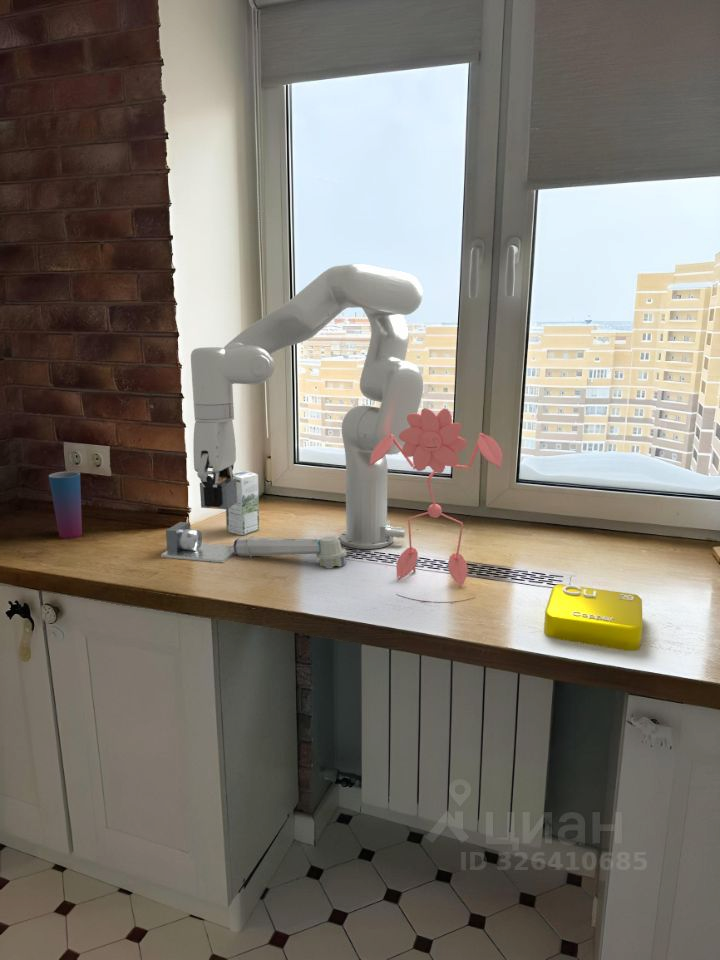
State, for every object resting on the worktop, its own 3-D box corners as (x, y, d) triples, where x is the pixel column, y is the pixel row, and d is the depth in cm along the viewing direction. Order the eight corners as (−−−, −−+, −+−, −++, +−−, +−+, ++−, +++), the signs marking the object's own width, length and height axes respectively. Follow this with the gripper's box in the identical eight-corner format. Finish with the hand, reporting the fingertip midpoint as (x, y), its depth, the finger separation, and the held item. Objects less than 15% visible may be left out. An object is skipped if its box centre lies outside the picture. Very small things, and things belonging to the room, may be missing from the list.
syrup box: (243, 526, 170) (240, 469, 166) (260, 530, 166) (258, 473, 163) (226, 532, 165) (223, 474, 162) (243, 536, 162) (241, 477, 158)
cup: (91, 533, 164) (86, 473, 160) (66, 541, 158) (60, 479, 154) (74, 529, 167) (68, 470, 164) (49, 536, 162) (42, 475, 158)
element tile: (542, 639, 111) (543, 612, 110) (552, 604, 125) (553, 579, 124) (640, 655, 106) (643, 627, 105) (639, 617, 119) (642, 591, 118)
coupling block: (237, 502, 137) (236, 477, 136) (226, 509, 132) (225, 483, 131) (212, 500, 139) (211, 476, 137) (201, 507, 134) (199, 482, 132)
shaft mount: (240, 549, 153) (239, 524, 151) (223, 562, 144) (222, 536, 143) (181, 544, 156) (179, 520, 155) (161, 557, 148) (159, 531, 146)
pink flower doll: (376, 565, 143) (377, 400, 134) (499, 581, 134) (509, 406, 126) (351, 593, 129) (350, 411, 120) (487, 613, 121) (496, 419, 112)
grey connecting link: (241, 534, 152) (346, 529, 144) (246, 562, 153) (350, 559, 145) (230, 541, 147) (338, 537, 139) (235, 570, 148) (342, 568, 140)
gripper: (215, 406, 140) (220, 490, 144) (174, 418, 124) (181, 513, 128) (249, 406, 138) (253, 492, 143) (212, 419, 122) (218, 515, 127)
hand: (219, 501), depth 135 cm, fingers closed on coupling block, 5 cm apart
